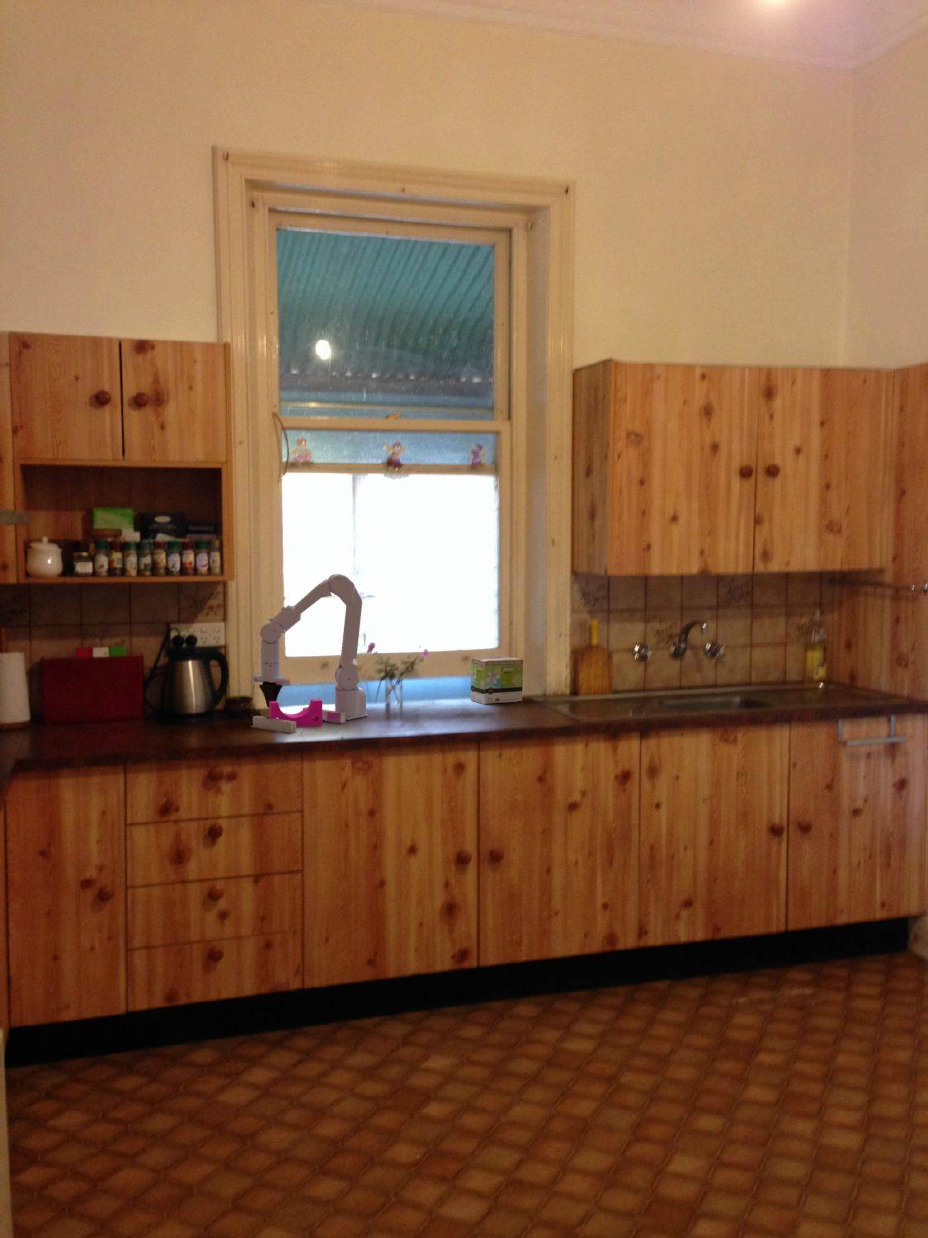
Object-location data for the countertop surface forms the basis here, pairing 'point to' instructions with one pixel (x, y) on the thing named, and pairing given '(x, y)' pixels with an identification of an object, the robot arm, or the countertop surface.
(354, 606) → the robot arm
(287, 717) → the toy block
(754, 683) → the countertop surface
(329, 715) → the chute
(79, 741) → the countertop surface
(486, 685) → the tea box
